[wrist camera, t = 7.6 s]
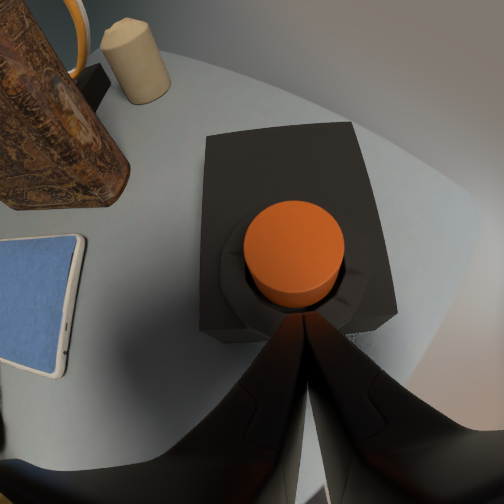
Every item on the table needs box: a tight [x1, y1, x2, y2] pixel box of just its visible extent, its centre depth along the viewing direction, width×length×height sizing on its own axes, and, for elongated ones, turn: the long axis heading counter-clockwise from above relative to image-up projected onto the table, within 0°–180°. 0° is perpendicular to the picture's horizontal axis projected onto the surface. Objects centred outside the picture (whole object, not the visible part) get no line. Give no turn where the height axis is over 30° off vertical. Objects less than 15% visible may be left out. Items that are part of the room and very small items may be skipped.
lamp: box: [63, 0, 111, 112], centre depth 20 cm, size 17×9×32 cm, turn 87°
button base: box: [199, 122, 398, 343], centre depth 19 cm, size 14×10×7 cm
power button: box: [243, 201, 344, 308], centre depth 14 cm, size 4×4×3 cm
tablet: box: [0, 233, 85, 379], centre depth 23 cm, size 19×13×1 cm, turn 88°
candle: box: [100, 18, 171, 104], centre depth 28 cm, size 6×6×10 cm
